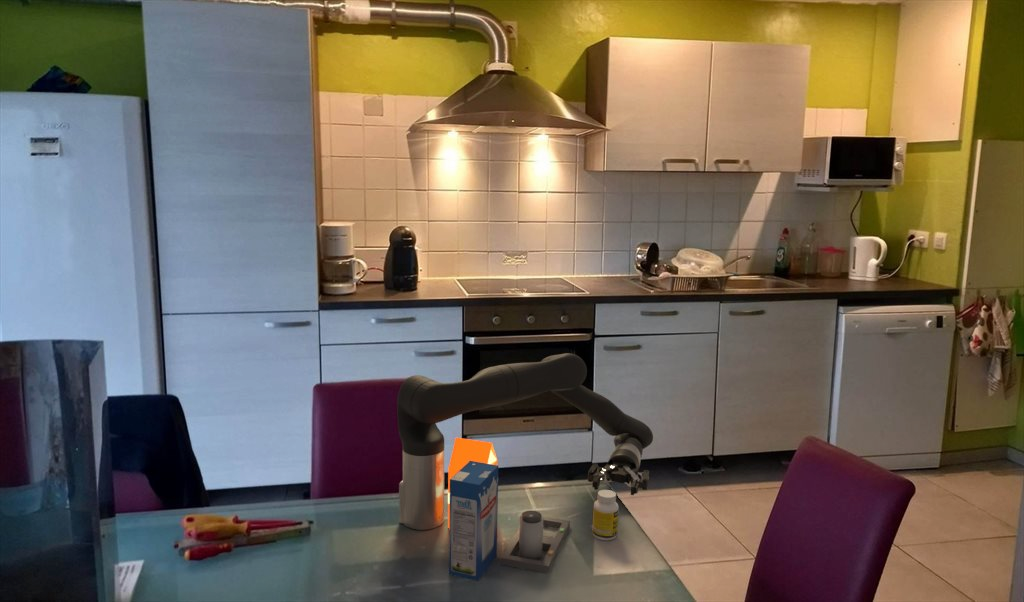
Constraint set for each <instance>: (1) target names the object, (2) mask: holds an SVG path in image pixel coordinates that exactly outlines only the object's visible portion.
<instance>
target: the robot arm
mask: <svg viewBox="0 0 1024 602" xmlns="http://www.w3.org/2000/svg"><path fill="white" fill-rule="evenodd" d="M587 373H588V369H587V365H586V363H585V361H584V360H583V359H582V357H580V356H579V355H577V354H574V353H569V352H568V353H567V352H565V353H560V354H553V355H550V356H547V357H545V358H543V359H541V361H537V362H536V361H535V362H516V363H515V362H514V363H507V364H499V365H495V366H489V367H487V368H484V369H481V370H480V371H477V372H476V374H474V375H473V376H471V378H469V379H467V380H463V381H456V382H439V381H436V380H434V379H431V378H429V377H427V376H424V375H420V374H419V375H418V374H416V375H412V376H409V377H407V378H406V379H405V380H404V381H403V382H402V383H401V385H400V388H399V390H398V393H397V399H396V402H397V403H396V405H397V406H396V407H397V409H396V410H397V411H396V412H397V426H398V428H397V429H398V435H399V438H400V440H401V445H402V447H401V448H402V480H401V481H400V482H399V483H398V495H399V496H398V499H399V500H398V504H399V507H398V508H399V514H398V516H399V523H400V524H403V525H405V527H408V528H410V529H413V530H418V531H420V530H421V531H423V530H432V529H436V528H437V527H440V526H441V525H442V524H443V523H444V521H445V436H444V434H443V433H442V432H441V430H440V429H439V427H438V426H437V424H438V423H441V422H445V421H447V420H450V419H453V418H455V417H458V416H461V415H463V414H466V413H470V412H473V411H480V410H484V409H487V408H493V407H498V406H499V407H501V406H503V405H508V404H512V403H516V402H519V401H522V400H525V399H528V398H531V397H534V396H538V395H540V394H543V393H546V392H551V393H553V394H555V395H556V396H558V397H560V398H561V399H563V400H565V401H566V402H567V403H569V404H570V405H572V406H574V407H575V408H577V409H578V410H579V411H581V412H582V413H583V414H584V415H586V416H587V417H588V418H590V419H591V420H592V421H593V422H594V423H595V424H597V426H599V427H600V428H601V429H602V430H603V431H604V432H605V433H606V434H608V435H609V436H612V437H614V438H613V444H614V446H615V447H614V450H613V451H612V452H611V455H609V456H610V457H609V459H608V461H607V463H606V465H605V466H599V464H598V463H596V462H594V463H592V465H591V466H590V468H589V469H588V472H587V482H589V483H592V485H591V486H592V487H591V488H594V489H593V490H596V491H597V490H598V489H599V488H600V484H605V485H606V484H610V483H612V482H613V483H614V482H615V483H618V484H619V483H620V484H625V485H627V486H628V487H629V488H630V496H635V494H636V495H637V494H638V492H639V490H640V489H642V490H644V491H648V487H649V486H648V485H649V476H650V471H649V470H648V469H646V470H643V471H642V472H639V471H638V470H639V469H640V466H641V458H642V456H643V451H644V450H645V449H646V448H647V447H649V446H650V445H652V443H653V441H654V434H653V431H652V430H651V428H650V427H649V426H648V425H647V424H646V423H644V422H643V421H642V420H639V419H637V418H635V417H632V416H631V415H628V414H626V413H625V412H624V411H623V410H621V409H620V408H619V407H618V406H617V405H616V404H615V403H613V402H612V401H611V400H610V399H609V398H607V397H605V396H603V395H602V394H599V393H598V392H595V391H593V390H591V389H589V388H587V387H586V386H585V385H582V384H583V383H584V382H585V380H586V378H587ZM598 491H599V490H598Z"/></svg>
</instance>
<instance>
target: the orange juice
mask: <svg viewBox="0 0 1024 602" xmlns="http://www.w3.org/2000/svg"><path fill="white" fill-rule="evenodd" d="M469 461H475V462H480V463H486V464H492V465H498V458H497V455H496V451H495V449H494V445H493V442H489V441H481V440H475V439H469V438H462V437H455V439H454V443H453V448H452V452H451V455H450V461H449V465H448V469H447V470H448V473H447V476H448V477H447V481H448V482H447V484H448V486H447V529H448V528H449V524H450V479H451V478H452V477H453V476H454V475H455V474H456V473H457V472H458V471H460V470H461V469H462V468H463V467H464V466H465V465H466V464H467V463H468V462H469Z"/></svg>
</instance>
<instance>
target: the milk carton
mask: <svg viewBox="0 0 1024 602" xmlns="http://www.w3.org/2000/svg"><path fill="white" fill-rule="evenodd" d="M498 501H499V465H498V464H497V465H492V464H486V463H480V462H475V461H469V462H468V463H467V464H466V465H465V466H464V467H463V468H462V469H461V470H460V471H458V472H457V473H456V474H455V475H454V476H453V477H452V478H451V479H450V524H449V529H448V530H449V533H448V534H449V540H448V543H449V544H448V545H449V546H448V549H449V550H448V551H449V553H448V555H449V557H448V559H449V560H448V565H449V566H448V568H449V569H448V574H449V575H450V574H452V575H451V576H454V575H455V576H456V577H459V578H463V579H464V578H465V579H468V580H473V581H477V582H479V581H480V579H481V578H482V576H483V575H484V574H485V573H486V572H487V570H488V569H489V567H490V566H491V565H492V563H494V560H496V558H497V557H498V553H497V552H498V514H499V513H498V510H499V509H498V508H499V505H498V504H499V502H498Z"/></svg>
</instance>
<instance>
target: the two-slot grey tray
mask: <svg viewBox="0 0 1024 602" xmlns="http://www.w3.org/2000/svg"><path fill="white" fill-rule="evenodd" d="M541 516H542V517H543V527H548V528H553V529H558V530H557V532H556V534H555V536H554V537H553V536H546V535H543V545H542V551H547V552H546V554H545V556H544V559H543V560H540V561H539V560H533V559H528V558H522V557H519V556H516V555H515V553H516V551H517V549H519V533H520V525H519V527H518V528H517V529H516V531H515V533H514V534H513V536H512V537H511V539H510V541H509V542H508V543H507V546H506V548H505V549H504V551H503V553H502V554H501V555H500V558H499V565H502V566H507V567H512V568H517V569H523V570H527V571H535V572H540V573H545V574H549V573H550V570H551V568H552V567H553V564H554V561H555V559H556V557H557V555H558V553H559V551H560V549H561V547H562V544H563V543H564V540H565V538H566V536H567V534H568V532H569V530H570V528H571V520H566V519H560V518H554V517H548V516H543V515H541ZM514 555H515V556H514Z"/></svg>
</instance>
